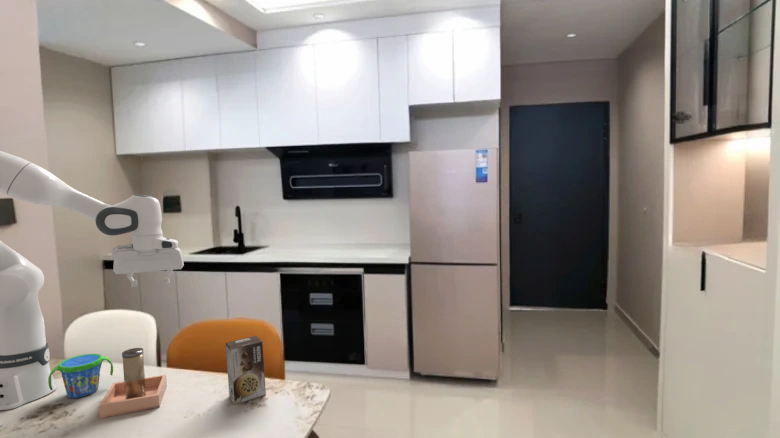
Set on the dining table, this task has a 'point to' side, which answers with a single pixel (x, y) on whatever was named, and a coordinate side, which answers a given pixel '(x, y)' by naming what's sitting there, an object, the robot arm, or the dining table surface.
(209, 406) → the dining table surface
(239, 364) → the coffee box
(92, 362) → the snack cup
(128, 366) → the bronze tin
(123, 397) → the terracotta tray
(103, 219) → the robot arm
